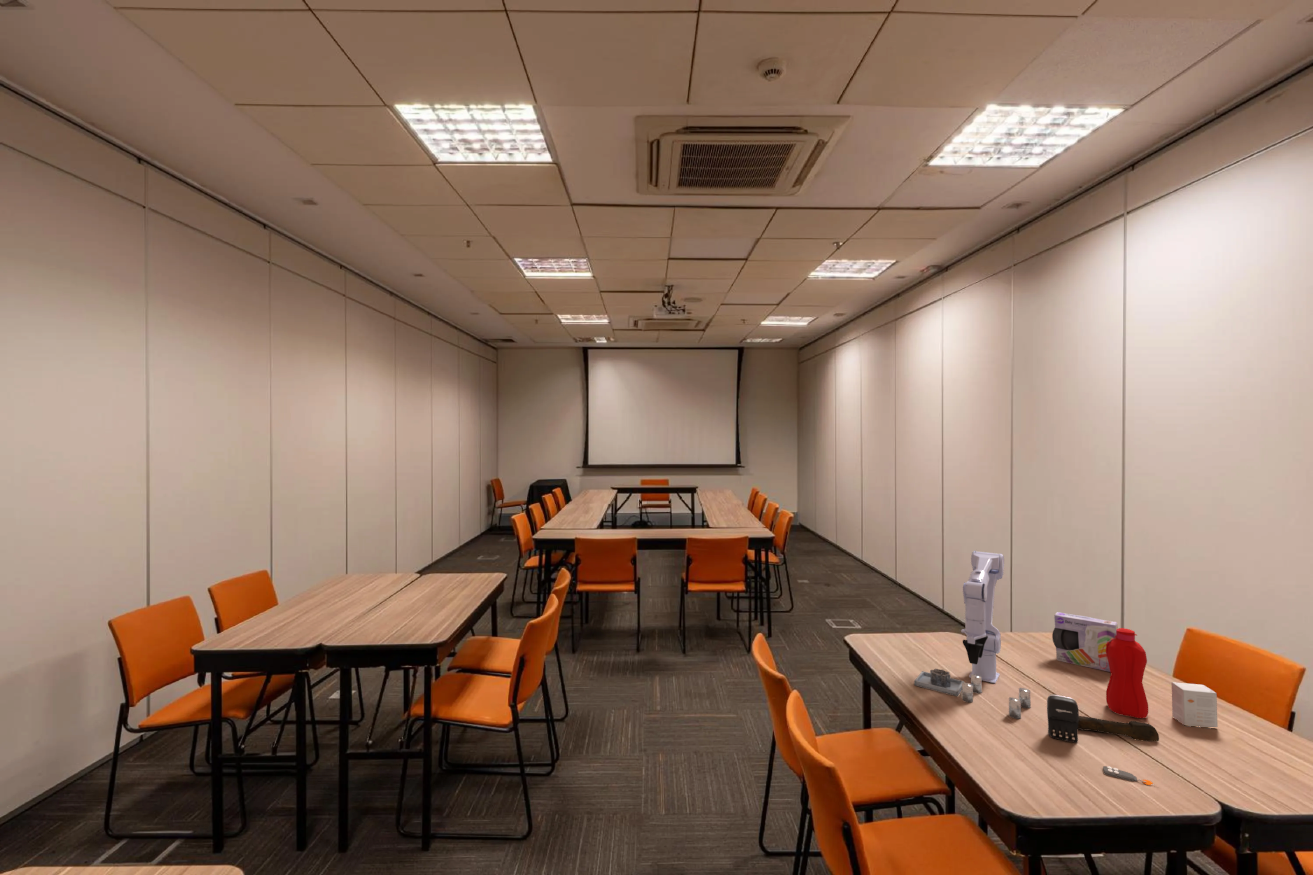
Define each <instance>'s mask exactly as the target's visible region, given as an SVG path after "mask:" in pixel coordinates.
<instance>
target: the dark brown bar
mask: <svg viewBox="0 0 1313 875" xmlns="http://www.w3.org/2000/svg"><path fill="white" fill-rule="evenodd" d="M1078 730H1082V731H1085V730H1086V731H1094V732H1099V733H1100V732H1101V733H1105V734H1112V735H1120V736H1125V737H1129V738H1131V739H1132V738H1133V739H1132V740H1134V739H1136V740H1135V741H1141V740H1143V741H1142V742H1159V739H1160V734H1159V733H1158V731H1157V729H1156V728H1155V726H1153V725H1152V724H1150V723H1146V722H1141V721H1136V720H1129V721H1128V722H1122V721H1121V722H1120V721H1113V720H1107V719H1103V718H1096V717H1091V716H1090V717H1088V716H1085V715H1083V716H1082V715H1079V721H1078Z"/></svg>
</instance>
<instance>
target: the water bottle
mask: <svg viewBox="0 0 1313 875" xmlns="http://www.w3.org/2000/svg"><path fill="white" fill-rule="evenodd" d="M1136 636H1137V634H1136V632H1135V630H1132V629H1128V628H1125V627H1120V628H1118V629H1117V630H1116V635H1114V638H1112V639H1111V640H1109V641H1108V642H1107V643H1106V658H1107V659H1108V663H1109V668H1110V672H1109V673H1110V676H1109V680H1108V683H1107V688H1106V689H1105V690H1106V691H1105V692H1106V693H1105V699H1106V704H1107V706H1108V709H1110V711H1111V712H1113V713H1115V714H1117V715H1119V716H1125V717H1130V718H1131V717H1132V718H1136V719H1138V720H1139V719H1145V718H1147V717H1148V714H1149V702H1148V699H1147V695H1146V691H1145V687H1144V684H1143V680H1144V675H1145V674H1144V673H1145V671H1146V668H1147V667H1146V666H1147V663H1148V659H1147V653H1146V650H1145V649H1144V647H1143V645H1141V644H1140V643H1139V642H1137V640H1136ZM1104 646H1105V645H1104ZM1103 648H1104V647H1103ZM1102 651H1103V649H1102ZM1101 654H1102V652H1101ZM1100 657H1101V655H1100ZM1099 664H1100V660H1099ZM1100 667H1101V666H1100ZM1106 667H1107V665H1106ZM1106 667H1105V668H1106ZM1105 668H1102V669H1105Z"/></svg>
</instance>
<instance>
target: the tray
mask: <svg viewBox="0 0 1313 875" xmlns="http://www.w3.org/2000/svg"><path fill="white" fill-rule="evenodd" d="M913 682H914V686H916V687H920V688H923V689H927V690H932V691H935V692H939V693H942V694H947V695H951V696H954V697H959V696H960V694H961V693H962V683H965V681H964V680H961V679H957V678H953V677H950V684H951V687H946V688H943V687H939V686H936V685H932V684H931V678H930V672H928V671H925V670H922V671H921V672H920V673H919V674H918V676H917V677H915V679H914V681H913Z"/></svg>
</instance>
